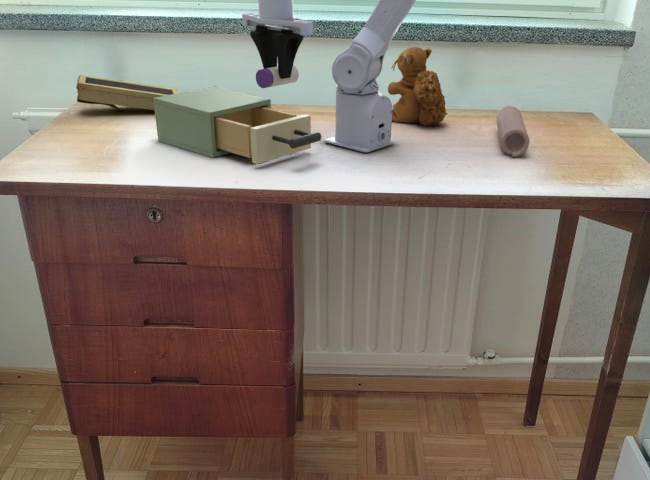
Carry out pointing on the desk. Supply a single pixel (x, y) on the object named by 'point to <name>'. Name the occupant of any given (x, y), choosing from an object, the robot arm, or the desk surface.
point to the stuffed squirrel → (417, 90)
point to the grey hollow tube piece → (512, 131)
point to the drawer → (263, 133)
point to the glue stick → (274, 77)
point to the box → (119, 92)
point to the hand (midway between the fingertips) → (278, 76)
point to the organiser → (199, 116)
